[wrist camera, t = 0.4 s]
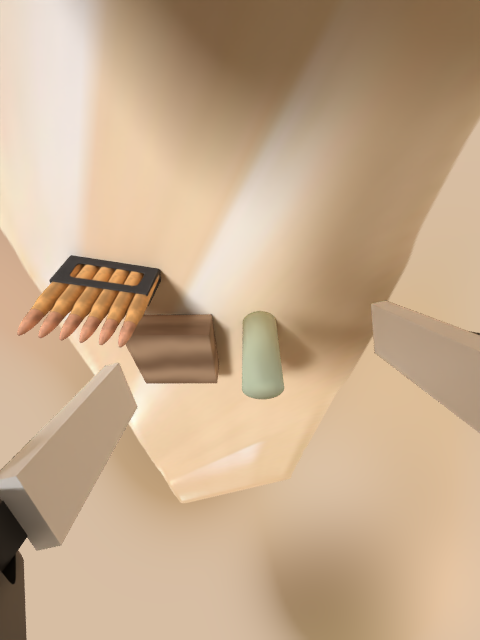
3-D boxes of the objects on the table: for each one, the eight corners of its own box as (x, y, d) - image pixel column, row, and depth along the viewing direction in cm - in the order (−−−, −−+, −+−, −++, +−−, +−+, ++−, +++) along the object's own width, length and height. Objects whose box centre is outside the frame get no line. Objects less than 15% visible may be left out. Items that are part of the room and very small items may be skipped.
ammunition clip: (160, 268, 32) (129, 341, 23) (161, 280, 33) (131, 354, 25) (70, 255, 31) (2, 326, 22) (74, 268, 32) (11, 340, 23)
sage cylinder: (242, 311, 37) (241, 377, 29) (277, 311, 36) (285, 377, 29) (243, 334, 40) (242, 399, 32) (274, 334, 40) (282, 399, 32)
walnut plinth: (130, 315, 38) (120, 335, 35) (211, 314, 37) (208, 334, 34) (152, 363, 46) (146, 383, 43) (218, 363, 45) (217, 383, 43)
